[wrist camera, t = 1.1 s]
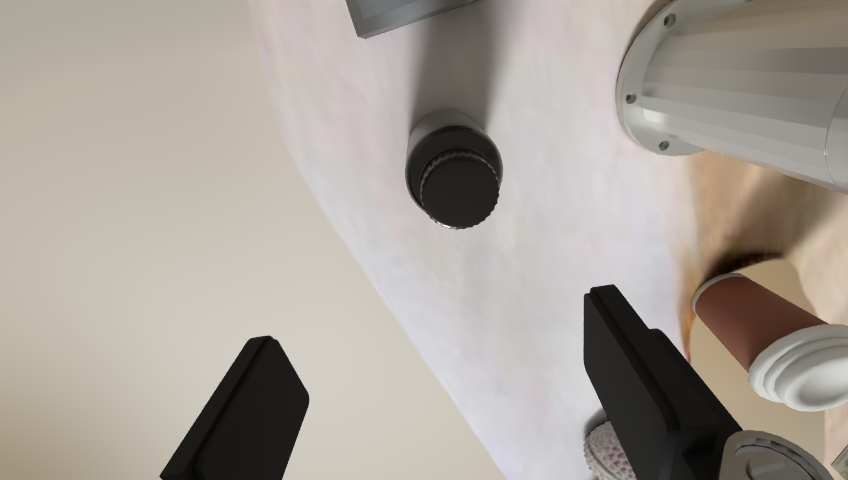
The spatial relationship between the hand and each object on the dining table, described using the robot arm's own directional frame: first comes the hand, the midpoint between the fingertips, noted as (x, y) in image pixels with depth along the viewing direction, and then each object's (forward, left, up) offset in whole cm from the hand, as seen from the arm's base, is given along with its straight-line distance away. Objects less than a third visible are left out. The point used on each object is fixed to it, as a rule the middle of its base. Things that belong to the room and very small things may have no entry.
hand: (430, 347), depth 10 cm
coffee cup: (-28, +25, -24) cm, 44 cm away
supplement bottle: (-2, 0, -24) cm, 24 cm away
